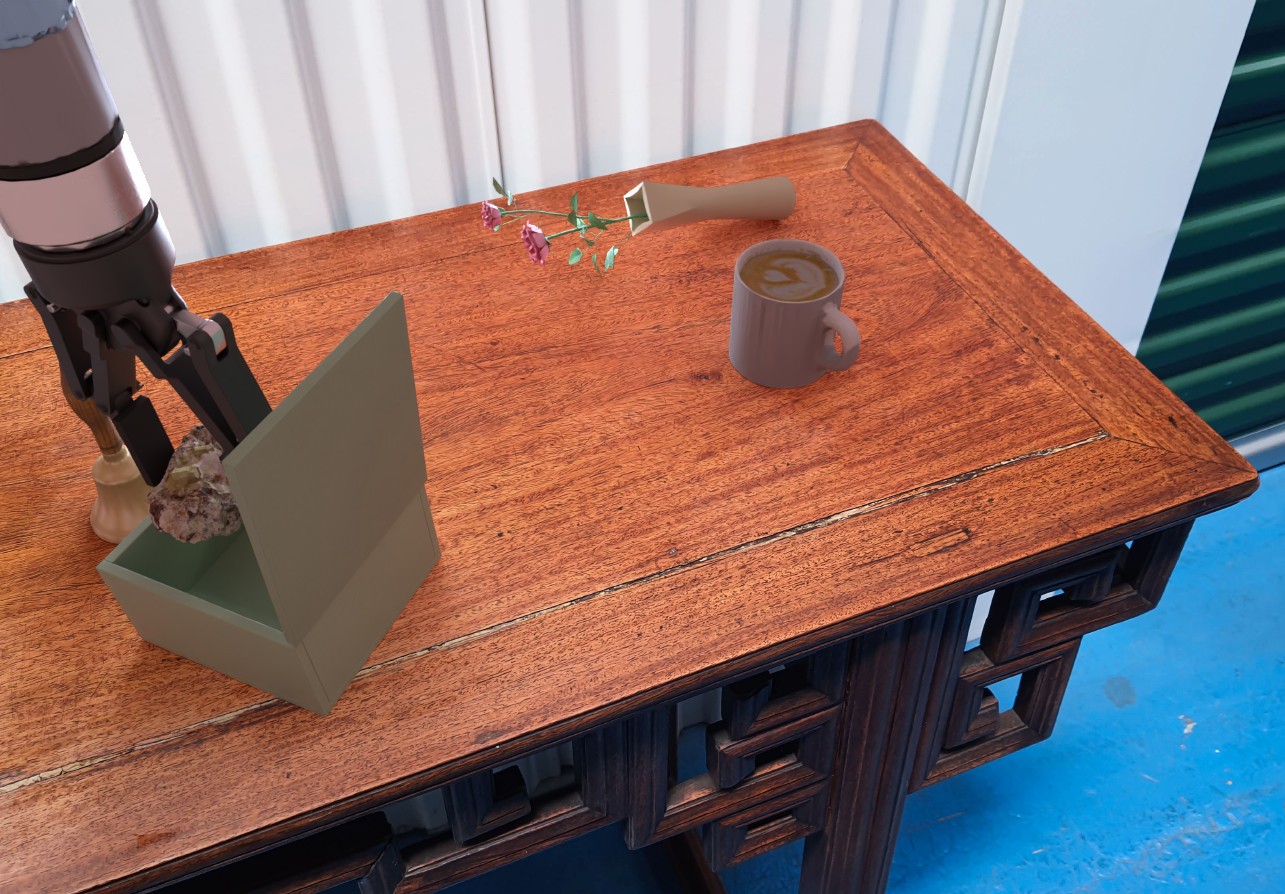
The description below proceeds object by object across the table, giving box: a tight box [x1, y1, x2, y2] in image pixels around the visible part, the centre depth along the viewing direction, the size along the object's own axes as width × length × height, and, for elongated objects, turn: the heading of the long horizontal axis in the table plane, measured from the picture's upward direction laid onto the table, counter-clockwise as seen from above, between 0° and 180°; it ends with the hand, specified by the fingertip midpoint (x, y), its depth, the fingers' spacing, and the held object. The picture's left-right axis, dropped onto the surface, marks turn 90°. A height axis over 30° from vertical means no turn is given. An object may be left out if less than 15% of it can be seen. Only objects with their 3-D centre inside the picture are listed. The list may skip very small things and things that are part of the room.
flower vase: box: [480, 175, 797, 279], centre depth 106 cm, size 12×12×35 cm
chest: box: [95, 484, 442, 718], centre depth 74 cm, size 17×16×9 cm
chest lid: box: [222, 290, 428, 647], centre depth 62 cm, size 17×16×1 cm
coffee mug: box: [728, 238, 861, 390], centre depth 92 cm, size 13×10×10 cm
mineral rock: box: [144, 424, 243, 544], centre depth 70 cm, size 11×4×8 cm
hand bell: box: [58, 362, 161, 545], centre depth 78 cm, size 8×8×16 cm
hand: (213, 491), depth 71 cm, fingers closed on mineral rock, 8 cm apart
